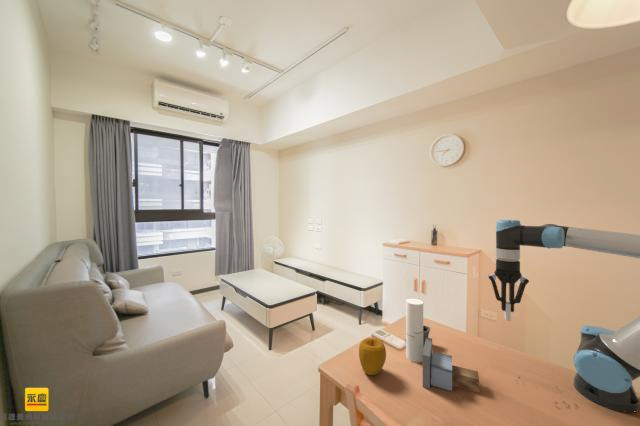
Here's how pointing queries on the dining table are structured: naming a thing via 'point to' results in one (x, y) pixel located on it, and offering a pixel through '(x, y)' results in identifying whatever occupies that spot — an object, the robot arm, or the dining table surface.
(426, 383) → the wall
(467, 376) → the wooden slab
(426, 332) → the pipe
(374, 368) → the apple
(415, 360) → the cylindrical container
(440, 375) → the block
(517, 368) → the dining table surface
